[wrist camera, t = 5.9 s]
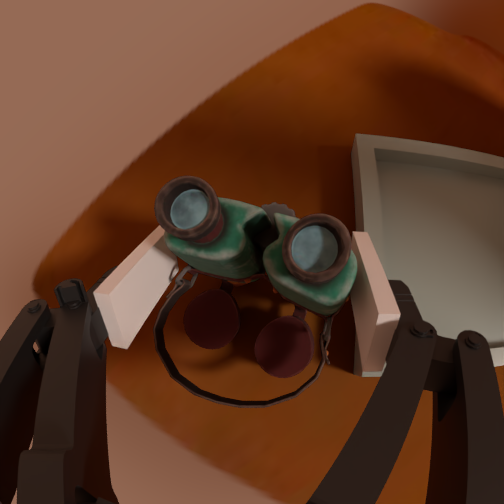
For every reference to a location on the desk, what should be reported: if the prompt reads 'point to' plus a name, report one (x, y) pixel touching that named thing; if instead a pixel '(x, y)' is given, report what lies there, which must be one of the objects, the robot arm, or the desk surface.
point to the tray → (436, 231)
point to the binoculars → (253, 276)
